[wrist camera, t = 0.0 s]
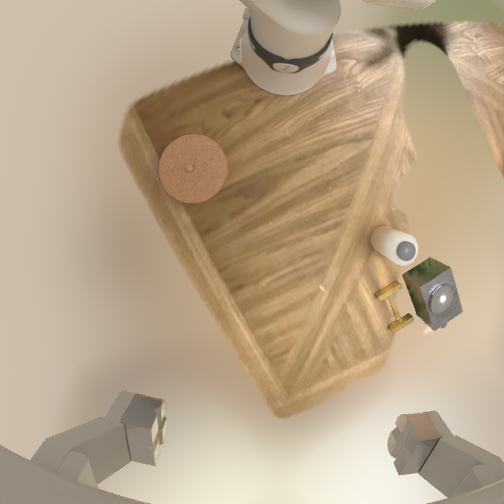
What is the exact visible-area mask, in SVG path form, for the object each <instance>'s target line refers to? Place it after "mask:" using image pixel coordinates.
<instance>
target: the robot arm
mask: <svg viewBox="0 0 504 504" xmlns="http://www.w3.org/2000/svg"><path fill="white" fill-rule="evenodd" d="M240 1H241V2H242V3H243V4H244V5H246V6H247V8H246V9H245V12H244V15H243V19H244V22H243V24H242V26H241V29H240V32H239V34H238V36H237V39H236V41H235V43H234V46H233V48H232V51H231V58H232V59H233V60H234V61H235V62H237V63H238V64H239V65H241V66H242V67H243V68H244V70H245V71H246V73H247V75H248V76H249V78H250V79H251V80H252V81H253V82H254V83H255V84H256V85H257V86H258V87H260V88H262V89H263V90H265V91H267V92H270V93H273V94H277V95H295V94H299V93H302V92H304V91H306V90H308V89H310V88H311V87H313V86H314V85H315V84H316V83H317V82H318V81H319V80H320V79H321V78H322V77H324V76H327V75H329V74H332V73H333V72H334V71H335V70H336V67H337V65H336V58H335V52H334V46H333V40H332V35H333V30H334V28H335V26H336V24H337V22H338V20H339V17H340V12H341V5H340V1H339V0H240ZM358 1H362V2H366V3H370V4H376V5H383V6H390V7H397V8H405V9H412V10H420V9H423V8H425V7H427V6H429V5H430V4H432V3H434V2H435V1H436V0H358ZM238 48H240V50H238ZM165 411H166V401H165V400H163V399H158V398H153V397H149V396H145V395H141V394H136V393H132V392H128V391H124V390H123V391H121V392H120V393H119V395H118V397H117V398H116V400H115V401H114V403H113V405H112V406H111V408H110V410H109V411H108V413H107V415H106V416H105V418H102V417H99V418H97V419H95V420H92V421H90V422H88V423H85V424H82V425H80V426H78V427H75V428H73V429H70V430H67V431H65V432H62V433H60V434H57V435H55V436H52V437H49V438H47V439H45V441H44V442H43V443H42V445H41V446H40V448H39V449H38V450H37V452H36V453H35V454H34V456H33V457H32V459H31V460H28V459H26V458H23V457H22V456H20V455H18V454H16V453H14V452H12V451H10V450H8V449H7V448H5V447H3V446H1V445H0V504H149V503H145V502H141V501H137V500H134V499H130V498H126V497H123V496H120V495H116V494H113V493H110V492H107V491H103V490H100V489H98V486H97V484H98V483H100V482H101V481H103V480H104V479H106V478H108V477H109V476H111V475H112V474H113V473H115V472H116V471H118V470H119V469H121V468H122V467H124V466H125V465H127V464H128V463H129V462H131V461H135V462H139V463H144V464H149V465H154V466H155V465H156V462H157V459H158V457H159V454H160V446H159V445H161V444H163V442H164V439H165V435H166V429H167V419H166V417H165V416H164V414H165ZM396 426H397V427H396V428H395V429H394V430H393V431H392V432H391V433H390V436H389V438H388V450H389V453H390V455H391V456H393V457H394V458H396V459H395V461H394V465H395V467H396V470H397V472H398V474H399V475H405V474H412V473H419V475H421V476H422V477H423V478H424V479H425V480H427V481H428V482H429V483H430V484H432V485H433V486H434V487H435V488H436V489H438V490H439V491H440V492H441V493H443V494H444V495H445V496H446V497H448V498H447V499H443V500H440V501H436V502H432V503H428V504H504V463H503V461H502V460H501V458H500V457H498V456H496V455H494V454H491V453H490V452H488V451H486V450H484V449H482V448H480V447H478V446H476V445H474V444H472V443H470V442H468V441H466V440H464V439H462V438H460V437H458V436H453V434H452V433H451V431H450V430H449V428H448V427H447V425H446V424H445V423H444V421H443V420H442V418H441V417H440V415H439V414H438V412H436V411H429V412H423V413H414V414H403V415H400V416H399V417H398V418H397V421H396ZM130 460H131V461H130Z"/></svg>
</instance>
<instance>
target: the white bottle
mask: <svg viewBox="0 0 504 504" xmlns="http://www.w3.org/2000/svg"><path fill="white" fill-rule="evenodd" d="M370 242H371V246H372V247H373V249H374V250H376V251H377V252H379V253H380V254H382V255H384V256H385V257H387V258H388V259H390V260H391V261H393V262H395V263H396V264H398V265H400V266H406V265H409V264H411V263H412V262H413V261H414V260H415V258H416V257H417V254H418V244H417V241H416V240H415V238H414V237H412V236H411V235H408V234H406V233H403V232H400V231H398V230H395V229H393V228H390V227H387V226H379V227H377V228H376V229H374V231H373V232H372V234H371V238H370Z"/></svg>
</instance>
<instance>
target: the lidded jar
mask: <svg viewBox="0 0 504 504" xmlns="http://www.w3.org/2000/svg"><path fill="white" fill-rule="evenodd" d="M158 172H159V178H160V181H161V184H162V186H163V188H164V189H165V191H166V192H167V193H168V194H169V195H170V196H171V197H173V198H174V199H176V200H178V201H180V202H183V203H190V204H194V203H200V202H204V201H206V200H208V199H210V198H212V197H213V196H215V195H216V194H217V193H218V192H219V191H220V189H221V188H222V187H223V185H224V183H225V181H226V179H227V175H228V162H227V158H226V155H225V153H224V151H223V149H222V148H221V147H220V145H219V144H218V143H217V142H216V141H214V140H213V139H211V138H209V137H207V136H205V135H201V134H187V135H183V136H181V137H179V138H177V139H175V140H174V141H172V142H171V143H170V144H169V145H168V146H167V147H166V149H165V150H164V152H163V153H162V155H161V158H160V161H159V171H158Z"/></svg>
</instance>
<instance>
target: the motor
mask: <svg viewBox="0 0 504 504" xmlns="http://www.w3.org/2000/svg"><path fill="white" fill-rule="evenodd" d="M403 278H404V281H405V283H406V286H407V289H408V291H409V294H410V296H411V300H412V302H413V305H414V308H415V311H416V314H417V316H419V317H420V318H421V319H422V320H423V321H424V322H425V323H426V324H427V325H428V326H429V327H430V328H432V329H433V330H434V331H435V330H437V329H438V328H443V327H445V326H446V325H447V322H449V321H450V320H451V319H453V318H454V317H456V316H457V315H459V314H460V313H462V307H461V304H460V300H459V295H458V292H457V288H456V285H455V281H454V277H453V274H452V271H451V268H450V267H449V266H446V265H444V264H443V263H441V262H438V261H437V260H435V259H433V258H428V259H427V260H425V261H424V262H422V263H421V264H419V265H417V266H416V267H414V268H412V269H411V270H409V271H407V272H406V273H404V274H403ZM400 289H402V286H401V284H400V283H399V282H398V281H395V282H394V283H392V284H390V285H389V286H387V287H385V288H384V289H382V290H380V291H378V292H377V293H375V294H376V296H377V298H378V299H379V300H380V301H382V300H383V299H385V298H387V297H388V298H389V301H390V303H391V306H392V308H393V311H394V313H395V316H396V318H397V321H395V322H393V323H392V324H390V325H389V328H390V330H391V331H392V332H393V333H395V332H396V331H398V330H400V329H401V328H403V327H405V326H406V325H408V324H410V323H411V322H413V321H414V319H413V317H412V315H411V314H409V313H408V314H407V315H405V316H404V317H402V318H401V317H400V315H399V312H398V309H397V307H396V304H395V302H394V299H393V297H392V294H393V293H395V292H397V291H398V290H400Z"/></svg>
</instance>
